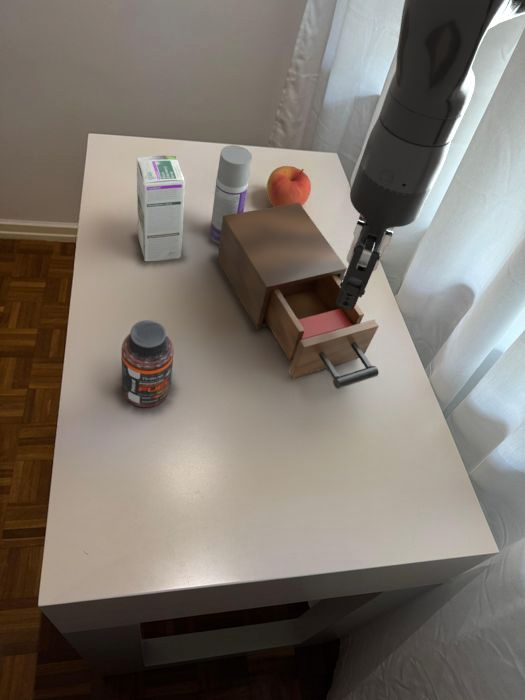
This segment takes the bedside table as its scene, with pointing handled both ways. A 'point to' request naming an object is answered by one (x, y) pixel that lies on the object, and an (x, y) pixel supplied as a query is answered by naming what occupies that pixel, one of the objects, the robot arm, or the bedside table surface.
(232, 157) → the container
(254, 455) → the bedside table surface
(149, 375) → the supplement bottle
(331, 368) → the drawer
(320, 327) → the red rectangular brick
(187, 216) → the bedside table surface
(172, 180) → the syrup box
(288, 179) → the apple
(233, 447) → the bedside table surface
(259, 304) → the cabinet
